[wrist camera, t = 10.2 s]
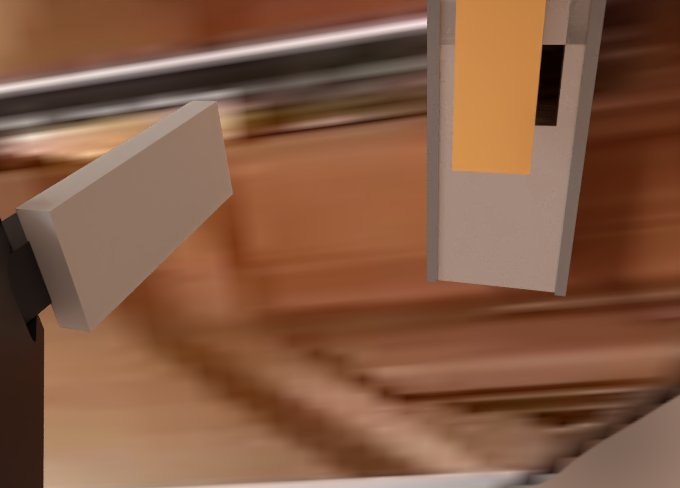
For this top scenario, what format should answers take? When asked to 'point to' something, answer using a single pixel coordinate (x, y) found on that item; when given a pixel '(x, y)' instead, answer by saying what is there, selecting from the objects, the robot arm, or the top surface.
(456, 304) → the top surface
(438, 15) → the rail
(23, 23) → the top surface
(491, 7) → the tall orange block
